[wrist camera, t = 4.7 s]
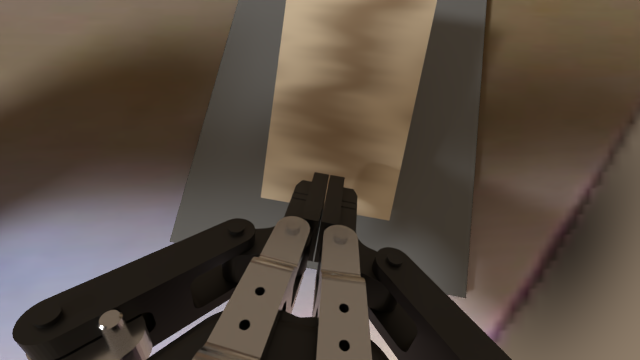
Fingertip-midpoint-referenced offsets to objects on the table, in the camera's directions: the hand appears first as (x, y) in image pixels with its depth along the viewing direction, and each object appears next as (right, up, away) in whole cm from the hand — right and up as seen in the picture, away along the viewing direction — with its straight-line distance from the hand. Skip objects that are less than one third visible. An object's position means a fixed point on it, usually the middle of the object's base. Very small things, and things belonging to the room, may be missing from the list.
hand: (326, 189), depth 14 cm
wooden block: (0, -1, +5) cm, 5 cm away
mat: (+2, +7, +8) cm, 11 cm away
